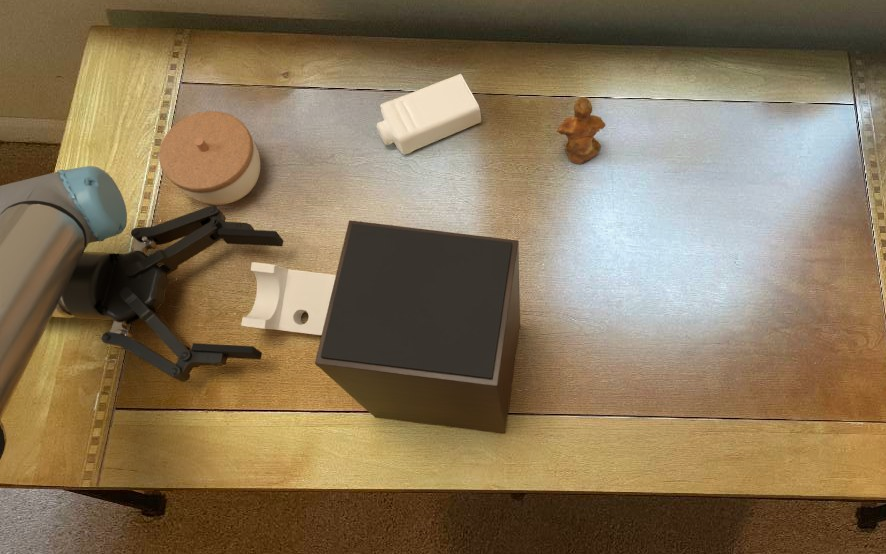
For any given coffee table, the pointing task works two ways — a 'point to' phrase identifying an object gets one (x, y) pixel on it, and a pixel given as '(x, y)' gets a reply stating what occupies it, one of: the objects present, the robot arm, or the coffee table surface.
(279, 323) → the bracket
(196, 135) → the trinket box
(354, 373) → the walnut stand
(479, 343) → the black pad
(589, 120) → the figurine
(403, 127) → the white bottle
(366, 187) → the coffee table surface
